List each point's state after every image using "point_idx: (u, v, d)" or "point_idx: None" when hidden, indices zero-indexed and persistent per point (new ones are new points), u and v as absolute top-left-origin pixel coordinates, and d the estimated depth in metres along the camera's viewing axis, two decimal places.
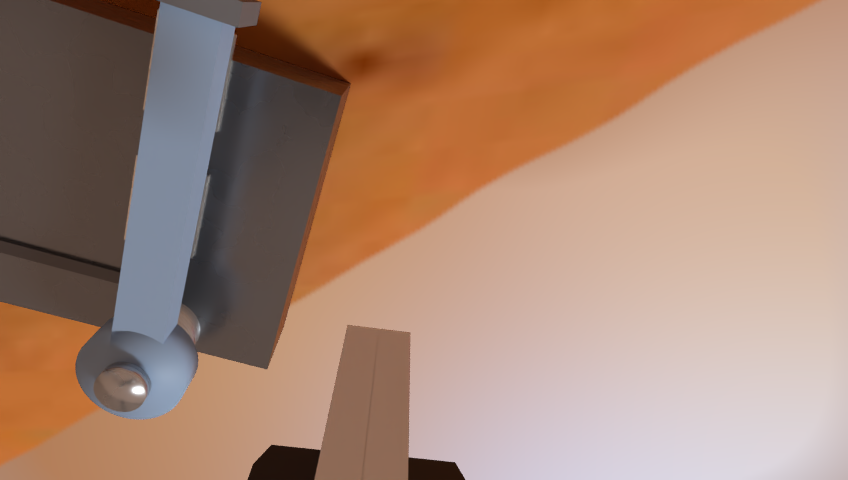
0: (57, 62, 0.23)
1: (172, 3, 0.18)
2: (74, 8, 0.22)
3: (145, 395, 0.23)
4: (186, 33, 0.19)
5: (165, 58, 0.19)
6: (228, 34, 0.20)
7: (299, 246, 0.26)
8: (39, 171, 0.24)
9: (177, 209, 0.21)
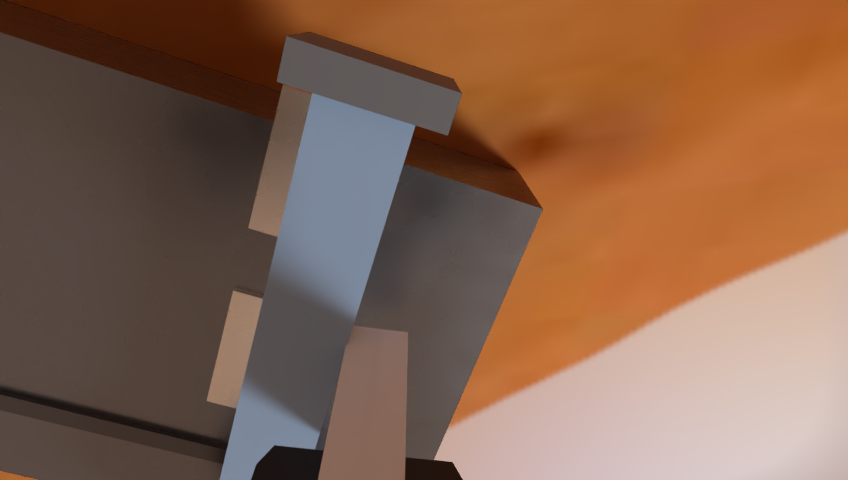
0: (123, 160, 0.15)
1: (338, 97, 0.10)
2: (154, 82, 0.14)
3: None
4: (352, 142, 0.11)
5: (313, 182, 0.11)
6: None
7: (454, 408, 0.18)
8: (90, 310, 0.17)
9: (312, 405, 0.13)
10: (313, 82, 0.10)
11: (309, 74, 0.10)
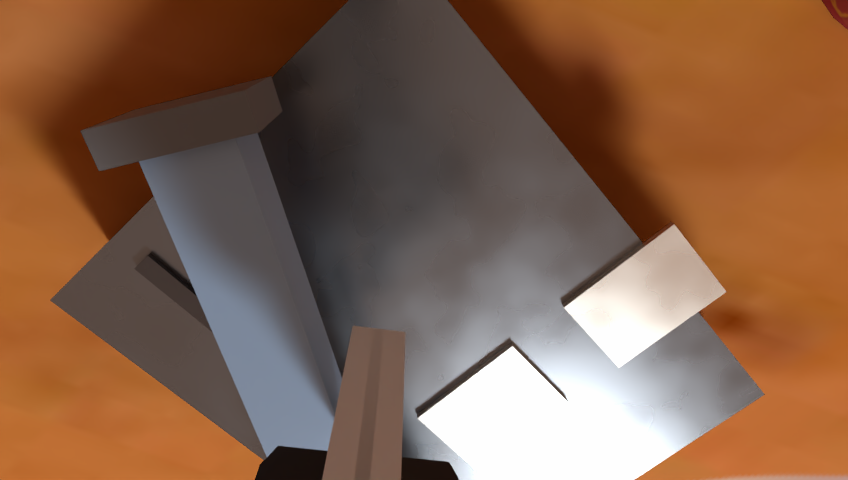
0: (510, 209, 0.16)
1: (153, 154, 0.11)
2: (580, 167, 0.16)
3: None
4: (197, 183, 0.12)
5: (191, 233, 0.12)
6: (253, 147, 0.12)
7: None
8: (380, 303, 0.17)
9: (320, 415, 0.14)
10: (125, 154, 0.11)
11: (118, 150, 0.11)
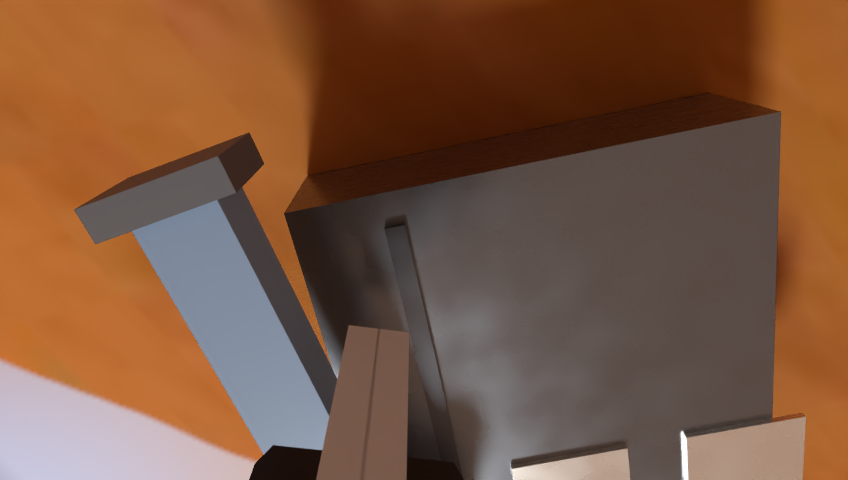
0: (703, 343, 0.18)
1: (142, 223, 0.12)
2: (772, 339, 0.18)
3: None
4: (187, 244, 0.12)
5: (187, 290, 0.13)
6: (237, 203, 0.13)
7: None
8: (553, 362, 0.18)
9: None
10: (117, 226, 0.12)
11: (110, 223, 0.12)
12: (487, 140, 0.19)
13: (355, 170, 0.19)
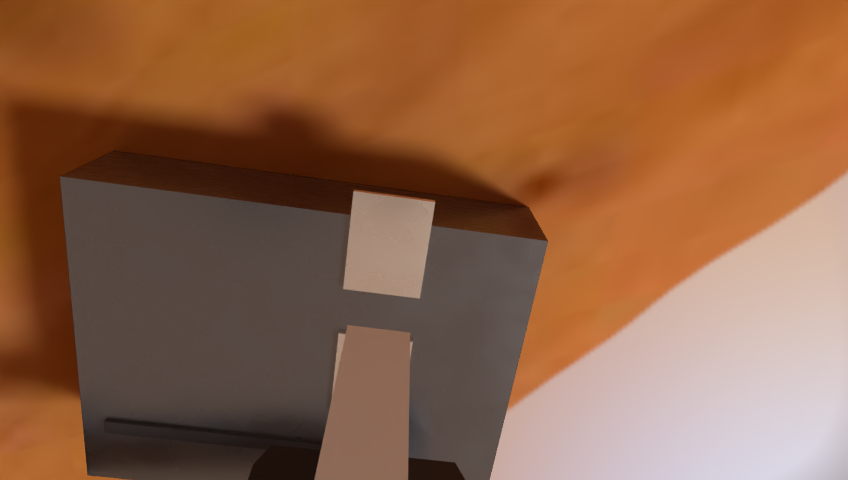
0: (253, 258, 0.22)
1: None
2: (267, 203, 0.21)
3: None
4: None
5: None
6: None
7: (509, 392, 0.24)
8: (241, 362, 0.24)
9: None
10: None
11: None
12: None
13: None
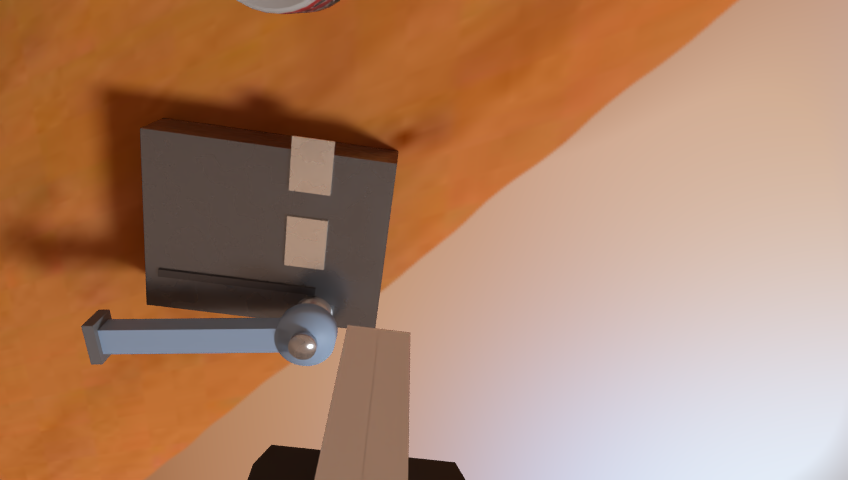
0: (240, 173, 0.41)
1: (98, 351, 0.41)
2: (247, 143, 0.40)
3: (316, 348, 0.41)
4: (110, 343, 0.42)
5: (126, 349, 0.42)
6: (110, 324, 0.42)
7: (384, 253, 0.44)
8: (234, 233, 0.43)
9: (194, 333, 0.41)
10: (97, 357, 0.42)
11: (96, 358, 0.42)
12: None
13: None
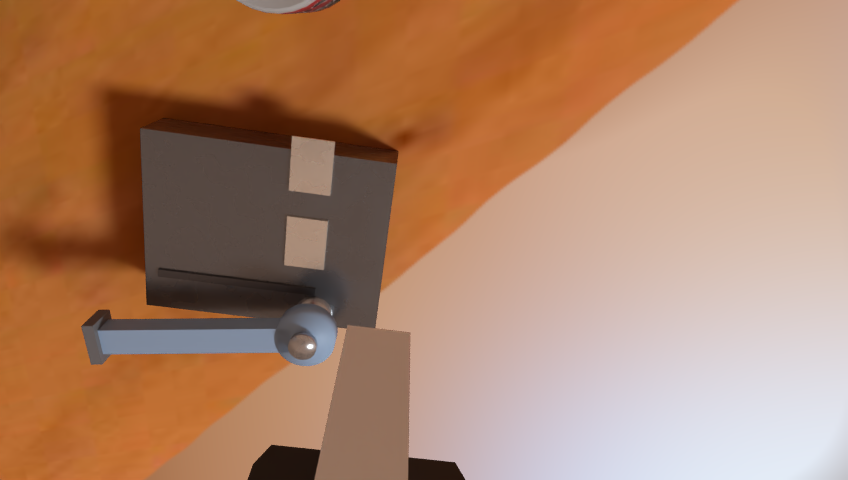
0: (240, 173, 0.41)
1: (98, 351, 0.41)
2: (247, 143, 0.40)
3: (315, 348, 0.41)
4: (110, 343, 0.42)
5: (125, 349, 0.42)
6: (110, 324, 0.42)
7: (384, 253, 0.44)
8: (234, 233, 0.43)
9: (194, 333, 0.41)
10: (97, 357, 0.42)
11: (96, 358, 0.42)
12: None
13: None
